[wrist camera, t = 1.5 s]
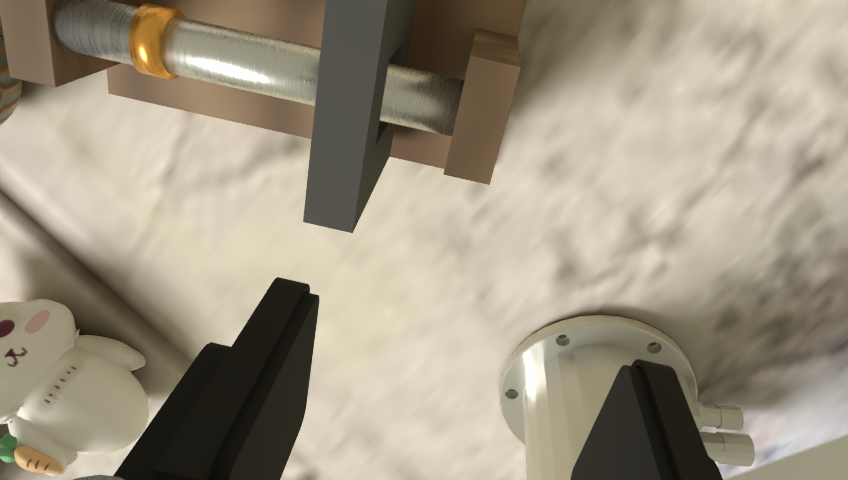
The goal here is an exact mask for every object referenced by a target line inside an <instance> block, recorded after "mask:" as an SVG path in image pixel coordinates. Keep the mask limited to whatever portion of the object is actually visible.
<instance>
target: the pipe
mask: <svg viewBox="0 0 848 480" xmlns="http://www.w3.org/2000/svg"><path fill="white" fill-rule="evenodd" d="M51 27H52V32H53V35H54V38H55V40H56V42H57V43H58V45H59V46H60V47H61V48H63V49H64V50H67V51H72V52H76V53H81V54H85V55H90V56H94V57H99V58H103V59H107V60H112V61H116V62H121V63H125V64H130V65H134V67H135V68H136V69H137V70H138V71H139V72H140V73H143V74H148V75H152V76H156V77H161V78H165V79H170V80H174V79H176V78H178V77H179V76H183V77H188V78H192V79H197V80H201V81H206V82H210V83H215V84H219V85H224V86H228V87H233V88H237V89H241V90H246V91H250V92H255V93H259V94H264V95H268V96H273V97H277V98H282V99H286V100H291V101H295V102H300V103H304V104H308V105H313V106H315V101H316V91H317V81H318V71H319V62H320V52H321V48H319V47H314V46H310V45H305V44H301V43H296V42H292V41H287V40H283V39H278V38H274V37H269V36H265V35H260V34H256V33H251V32H247V31H242V30H238V29H233V28H229V27H224V26H220V25H215V24H211V23H206V22H202V21H198V20H193V19H189V18H186V16H185V15H184V14H183V12H181V11H180V10H177V9H172V8H168V7H163V6H159V5H154V4H149V3H147V4H144V5H142V6H141V7H140V8H139V7H135V6H130V5H126V4H121V3H117V2H112V1H108V0H56V2H55V4H54V6H53V10H52V15H51ZM464 81H465V80H462V79H458V78H453V77H449V76H444V75H440V74H435V73H431V72H426V71H422V70H417V69H413V68H408V67H404V66H399V65H395V64H390V63H389V64H388V70H387V77H386V83H385V89H384V95H383V102H382V108H381V114H380V121H384V122H389V123H393V124H398V125H402V126H407V127H411V128H416V129H420V130H425V131H429V132H434V133H438V134H442V135H447V136H451V137H452V134H453V130H454V126H455V121H456V117H457V112H458V108H459V103H460V99H461V94H462V90H463V86H464Z"/></svg>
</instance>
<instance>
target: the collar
mask: <svg viewBox="0 0 848 480" xmlns="http://www.w3.org/2000/svg"><path fill="white" fill-rule="evenodd" d="M416 2H417V0H326V2H325V12H324V22H323V32H322V42H321V52H320V62H319V71H318V81H317V91H316V101H315V111H314V121H313V131H312V141H311V150H310V160H309V170H308V180H307V190H306V200H305V210H304V219H303V222H306V223H310V224H315V225H319V226H324V227H328V228H333V229H337V230H341V231H346V232H350V233H353V231H354V229H355V227H356V225H357V223H358V220H359V218H360V216H361V214H362V212H363V210H364V208H365V206H366V204H367V202H368V200H369V198H370V195H371V193H372V191H373V189H374V187H375V185H376V183H377V181H378V179H379V177H380V175H381V172H382V170H383V168H384V166H385V164H386V162H387V160H388V158H389V156H390V152H391V146H392V140H393V135H394V129H395V124H393V123H389V122H384V121H380V114H381V108H382V102H383V95H384V89H385V83H386V77H387V70H388V64H389V63H390V64H395V65H399V66H404V67H405V65H406V60H407V54H408V48H409V42H410V36H411V31H412V25H413V19H414V13H415V8H416Z"/></svg>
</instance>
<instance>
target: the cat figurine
mask: <svg viewBox="0 0 848 480" xmlns="http://www.w3.org/2000/svg"><path fill="white" fill-rule="evenodd" d="M79 330H80V328H79ZM79 330H77V328H76V327H75V322H74V317H73V315H72V313H71V311H70V310H69V309H68V308H67V307H66V306H65V305H63V304H60V303H57V302H54V301H51V300H48V299H36V300H32V301H28V302H4V303H0V424H7V423H8V428H9V432H10V433H6V434H5V435H3V437H2V438H0V447H1V448H0V459H1V460H2V461H4V462H6V463H11V462H15V461H16V463H17V464H18V465H19V466H20V467H21V468H23V469H25V470H27V471H31V472H38V473H45V474H47V475H50V476H59V475H61V474H63V473H64V471H65V469H66V467H67V466H68V465H69V464H71V463H72V462H73V461H75V460H76V458H77V453H82V454H105V453H111V452H114V451H118V450H120V449H123V448H125V447H126V446H128V445H130V444H131V443H133V442H134V441H135V440H136V439H137V438H138V437H139V436H140V435H141V434H142V433H143V431H144V429H145V427H146V425H147V422H148V417H149V404H148V399H147V396H146V394H145V392H144V390H143V388H142V386H141V384H140V383H139V382H138V380H137V379H136V378H135V377H134V375H133V374H132V373H131V372H130V371H133V370H137V369H139V368H141V367H143V366H144V365H145V364H146V360H145V358H144V356H143V355H142V354H141V353H139V352H138V351H136V350H134V349H132V348H131V347H129V346H128V345H126V344H124V343H122V342H120V341H117V340H114V339H111V338H106V337H102V336H95V335H81V336H80V335H79ZM16 446H17V448H16V449H15V447H16ZM2 448H3V449H2ZM14 449H15V450H14ZM13 452H14V454H13Z"/></svg>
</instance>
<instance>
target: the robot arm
mask: <svg viewBox="0 0 848 480" xmlns="http://www.w3.org/2000/svg"><path fill="white" fill-rule="evenodd" d="M318 307H319V295H315V294H311V293H310V286H309V284H305V283H301V282H296V281H292V280H287V279H283V278H279V277H278V278H276V279H275V280H274V281H273V283H272V284H271V286H270V287H269V289H268V290H267V292H266V294H265V295H264V297H263V298H262V300H261V301H260V303H259V304H258V306H257V308H256V309H255V311H254V312H253V314H252V315H251V317H250V319H249V320H248V322H247V323H246V325H245V326H244V328H243V330H242V331H241V333H240V334H239V336H238V337H237V339H236V341H235V342H234V344H233V345H232V347H229V346H225V345H220V344H216V343H212V342H211V343H209V344H207V345H206V346H205V347H204V348H203V349H202V350H201V352H200V353H199V355H198V356H197V357H196V359H195V360H194V362H193V363H192V365H191V366H190V367H189V369H188V370H187V372H186V373H185V374H184V376H183V377H182V379H181V380H180V382H179V383H178V384H177V386H176V387H175V389H174V390H173V392H172V393H171V394H170V396H169V397H168V399H167V400H166V401H165V403H164V404H163V406H162V407H161V409H160V410H159V411H158V413H157V414H156V416H155V417H154V419H153V420H152V421H151V423H150V424H149V426H148V427H147V429H146V430H145V431H144V433H143V434H142V436H141V437H140V438H139V440H138V441H137V443H136V444H135V446H134V447H133V448H132V450H131V451H130V453H129V454H128V456H127V457H126V458H125V460H124V461H123V463H122V464H121V466H120V467H119V468H118V470H117V471H116V473H115V474H114V475H113V476H105V475H95V476H88V477H81V478H77V479H74V480H280V478H281V476H282V473H283V471H284V468H285V466H286V463H287V461H288V458H289V456H290V453H291V451H292V448H293V446H294V443H295V441H296V438H297V436H298V433H299V431H300V428H301V425H302V422H303V418H304V414H305V410H306V403H307V395H308V387H309V379H310V371H311V363H312V355H313V347H314V339H315V331H316V323H317V315H318ZM499 390H500V406H501V411H502V415H503V417H504V420H505V422H506V424H507V426H508V428H509V429H510V430H511V431H512V433H513V434H514V435H515V436H516V438H517V439H518V440H519V441H521V442H522V443H523V444H524V445H525V451H526V472H527V480H723V479H722V476H721V474H720V471H719V469H718V467H717V465H716V464H715V462H714V461H717V462H718V463H719V464H729V465H739V466H751V465H752V463H753V461H754V455H755V452H754V445H753V442H752V439H751V438H750V436H749V435H746V434H737V433H726V432H716V433H709V432H700V431H699V430H701V428H702V427H703V426H709V427H716V428H719V429H730V430H741V429H742V427H743V414H742V411H741V409H740V408H738V407H727V406H704V405H702V403H701V402H700V401H699V400H697V395H698V390H697V384H696V378H695V375H694V373H693V370H692V368H691V365H690V363H689V361H688V359H687V358H686V356H685V354H684V353H683V351H682V350H681V349H680V348H679V346H678V345H677V344H676V343H675V342H674V341H673V340H672V339H671V338H669V337H668V336H666V335H665V334H663V333H662V332H660V331H659V330H657V329H656V328H654V327H651V326H649V325H647V324H644V323H642V322H640V321H636V320H632V319H628V318H624V317H620V316H607V315H593V316H580V317H575V318H571V319H567V320H562V321H559V322H557V323H554V324H552V325H549V326H547V327H544V328H543V329H541V330H539V331H538V332H536V333H534V334H533V335H531V336H530V337H528V338H527V339H526V340H525V341H524V342H523V343H522V344H520V345H519V346H518V347H517V348H516V349H515V351H514V352H513V353H512V355H511V356H510V358H509V359H508V360H507V362H506V365H505V367H504V369H503V372H502V375H501V381H500V387H499Z"/></svg>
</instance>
